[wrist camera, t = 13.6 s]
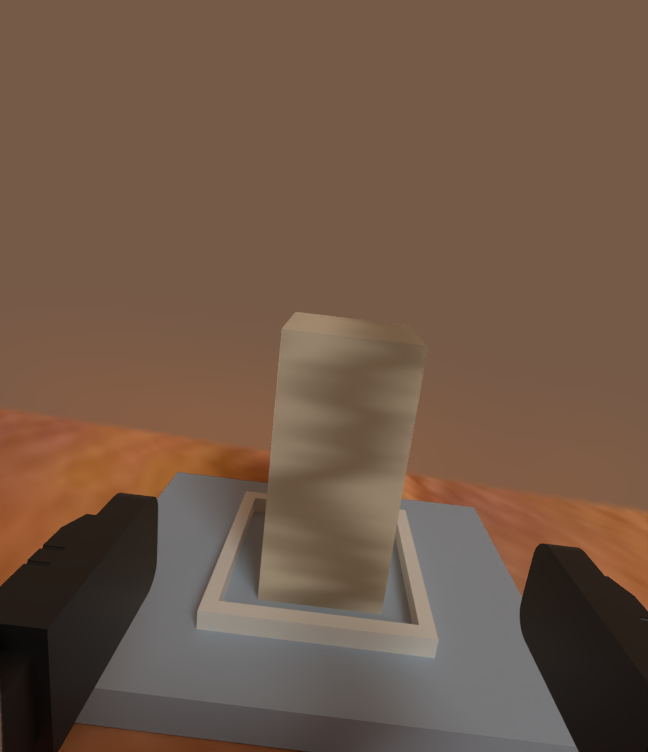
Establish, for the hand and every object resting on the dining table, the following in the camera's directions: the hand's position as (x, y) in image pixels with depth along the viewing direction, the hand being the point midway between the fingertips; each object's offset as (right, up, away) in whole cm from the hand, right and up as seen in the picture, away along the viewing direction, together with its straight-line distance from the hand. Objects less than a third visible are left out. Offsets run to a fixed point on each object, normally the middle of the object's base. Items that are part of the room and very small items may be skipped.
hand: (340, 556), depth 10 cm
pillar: (0, -5, +11) cm, 12 cm away
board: (-1, -6, +11) cm, 13 cm away
